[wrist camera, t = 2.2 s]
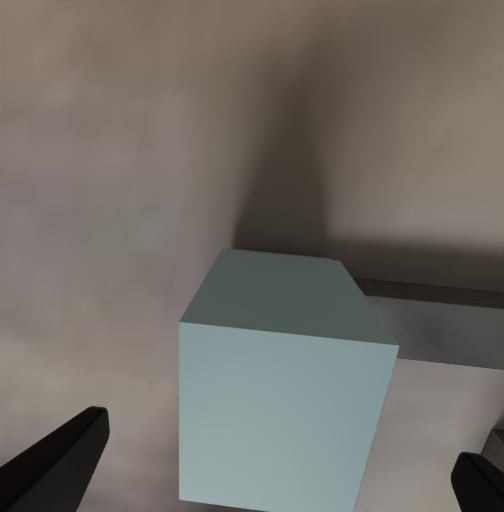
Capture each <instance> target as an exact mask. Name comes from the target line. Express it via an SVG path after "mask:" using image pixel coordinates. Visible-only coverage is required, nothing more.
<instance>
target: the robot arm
mask: <svg viewBox="0 0 504 512" xmlns="http://www.w3.org/2000/svg"><path fill="white" fill-rule="evenodd" d="M109 434H110V428H109V418H108V410H107V409H106V408H104V407H97V406H91V407H89V408H87V409H85V410H84V411H82V412H81V413H79V414H78V415H76V416H75V417H73V418H72V419H71V420H69V421H68V422H66V423H65V424H63V425H62V426H60V427H59V428H57V429H56V430H54V431H53V432H51V433H50V434H48V435H47V436H45V437H44V438H43V439H41V440H40V441H38V442H37V443H35V444H34V445H32V446H31V447H29V448H28V449H26V450H25V451H23V452H22V453H20V454H19V455H17V456H16V457H15V458H13V459H12V460H10V461H9V462H7V463H6V464H4V465H3V466H1V467H0V512H76V511H77V509H78V507H79V504H80V502H81V500H82V498H83V496H84V493H85V491H86V489H87V487H88V484H89V482H90V480H91V478H92V475H93V473H94V471H95V469H96V466H97V464H98V462H99V459H100V457H101V455H102V453H103V450H104V448H105V446H106V444H107V441H108V438H109ZM451 483H452V487H453V490H454V492H455V495H456V498H457V501H458V503H459V506H460V509H461V511H462V512H504V473H503V472H502V471H501V470H499V469H498V468H497V467H496V466H495V465H493V464H492V463H491V462H490V461H488V460H487V459H486V458H485V457H483V456H482V455H480V454H477V453H470V452H462V453H460V454H459V456H458V458H457V461H456V463H455V466H454V468H453V470H452V473H451Z"/></svg>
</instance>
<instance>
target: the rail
mask: <svg viewBox="0 0 504 512" xmlns="http://www.w3.org/2000/svg"><path fill="white" fill-rule="evenodd" d="M353 280H354V281H355V283H356V284H357V286H358V287H359V288H360V290H361V291H362V293H363V294H364V296H365V297H366V298H367V300H368V301H369V303H370V304H371V306H372V307H373V308H374V310H375V311H376V313H377V314H378V316H379V317H380V318H381V320H382V321H383V323H384V324H385V326H386V327H387V328H388V330H389V331H390V333H391V334H392V336H393V337H394V338H395V340H396V341H397V343H398V344H399V349H398V353H397V357H396V358H401V359H410V360H419V361H428V362H437V363H446V364H456V365H465V366H474V367H483V368H492V369H501V370H504V293H499V292H488V291H478V290H468V289H458V288H448V287H438V286H428V285H418V284H407V283H397V282H387V281H377V280H367V279H357V278H353Z"/></svg>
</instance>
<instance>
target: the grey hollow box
mask: <svg viewBox="0 0 504 512" xmlns="http://www.w3.org/2000/svg"><path fill="white" fill-rule="evenodd" d="M481 455H482V456H483V457H485V458H486V459H487V460H488V461H490V462H491V463H492V464H493V465H495V466H496V467H497V468H498V469H499V470H501V471H502V472H503V473H504V431H502V430H493V429H492V431H491V433H490V436H489V438H488V440H487V442H486V444H485V447H484V449H483V451H482V453H481Z"/></svg>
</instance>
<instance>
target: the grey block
mask: <svg viewBox="0 0 504 512" xmlns="http://www.w3.org/2000/svg"><path fill="white" fill-rule="evenodd" d="M398 349H399V344H398V343H397V341H396V340H395V338H394V337H393V336H392V334H391V333H390V331H389V330H388V328H387V327H386V326H385V324H384V323H383V321H382V320H381V318H380V317H379V316H378V314H377V313H376V311H375V310H374V308H373V307H372V306H371V304H370V303H369V301H368V300H367V298H366V297H365V296H364V294H363V293H362V291H361V290H360V288H359V287H358V286H357V284H356V283H355V281H354V280H353V278H352V277H351V276H350V274H349V273H348V271H347V270H346V268H345V267H344V266H343V264H342V263H341V261H337V260H332V259H331V258H323V257H313V256H302V255H292V254H282V253H271V252H261V251H250V250H240V249H230V248H227V250H223V249H222V251H221V252H220V254H219V256H218V257H217V259H216V261H215V262H214V264H213V266H212V267H211V269H210V271H209V272H208V274H207V276H206V277H205V279H204V281H203V282H202V284H201V286H200V288H199V289H198V291H197V293H196V294H195V296H194V298H193V299H192V301H191V303H190V304H189V306H188V308H187V309H186V311H185V313H184V314H183V316H182V318H181V319H180V321H179V500H185V501H192V502H200V503H207V504H215V505H222V506H230V507H237V508H244V509H252V510H259V511H267V512H353V509H354V506H355V502H356V499H357V495H358V492H359V488H360V484H361V481H362V477H363V474H364V470H365V467H366V463H367V460H368V456H369V452H370V449H371V445H372V442H373V438H374V435H375V431H376V428H377V424H378V421H379V417H380V413H381V410H382V406H383V403H384V399H385V396H386V392H387V389H388V385H389V381H390V378H391V374H392V371H393V367H394V364H395V360H396V357H397V353H398Z"/></svg>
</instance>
